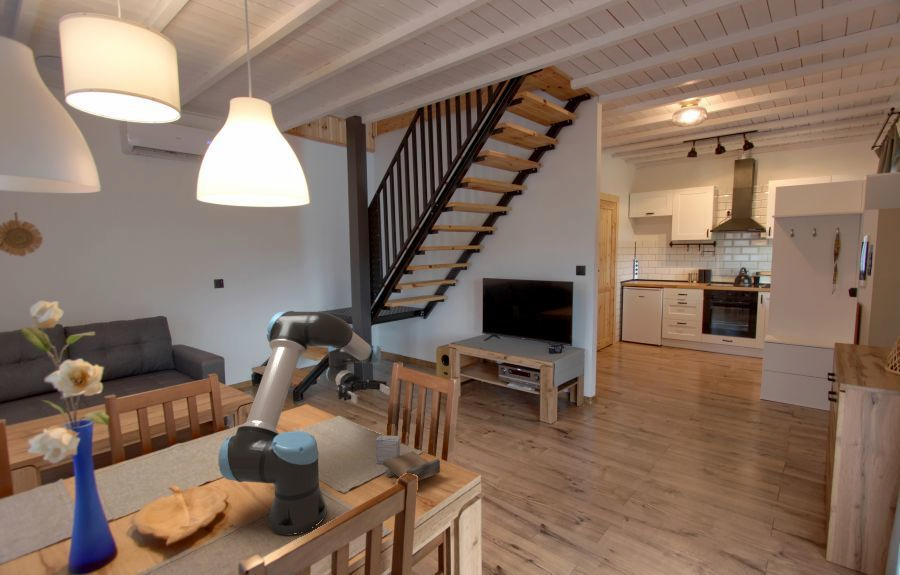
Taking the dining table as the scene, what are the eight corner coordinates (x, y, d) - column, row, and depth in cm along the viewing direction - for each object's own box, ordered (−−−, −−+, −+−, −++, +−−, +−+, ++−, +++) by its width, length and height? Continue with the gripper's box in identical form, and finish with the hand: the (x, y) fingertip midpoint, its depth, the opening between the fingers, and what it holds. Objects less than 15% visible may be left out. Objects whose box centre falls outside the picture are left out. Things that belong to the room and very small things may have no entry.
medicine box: (400, 458, 152) (400, 435, 152) (398, 465, 148) (397, 441, 147) (379, 458, 153) (378, 434, 152) (376, 464, 149) (375, 440, 148)
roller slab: (407, 493, 131) (407, 473, 130) (381, 472, 143) (381, 453, 143) (441, 478, 139) (441, 459, 138) (414, 460, 151) (413, 442, 151)
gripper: (375, 384, 182) (402, 397, 165) (318, 397, 166) (341, 413, 150) (375, 367, 181) (401, 379, 164) (318, 378, 166) (341, 393, 149)
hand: (373, 395), depth 157 cm, fingers open, 13 cm apart
